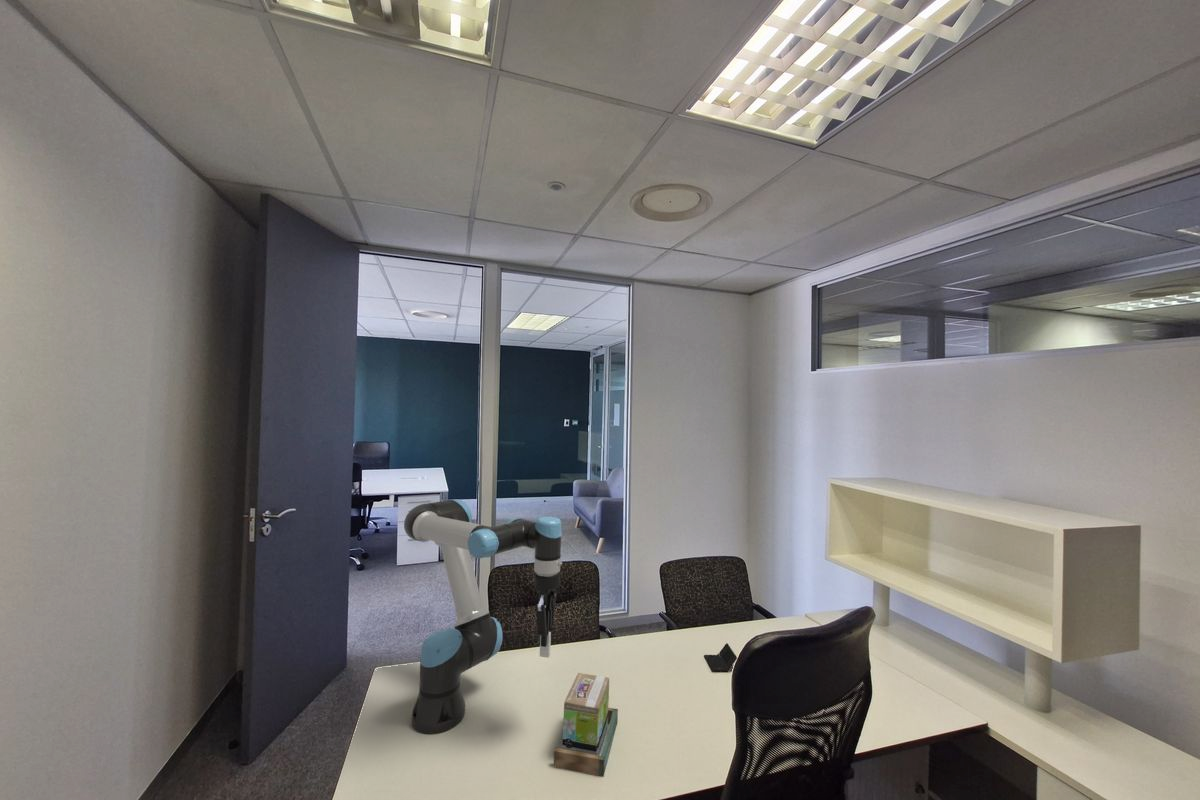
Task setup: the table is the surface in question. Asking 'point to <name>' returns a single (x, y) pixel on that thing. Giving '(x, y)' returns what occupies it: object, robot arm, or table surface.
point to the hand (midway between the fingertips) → (544, 655)
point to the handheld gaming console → (721, 660)
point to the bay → (589, 761)
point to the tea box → (586, 714)
